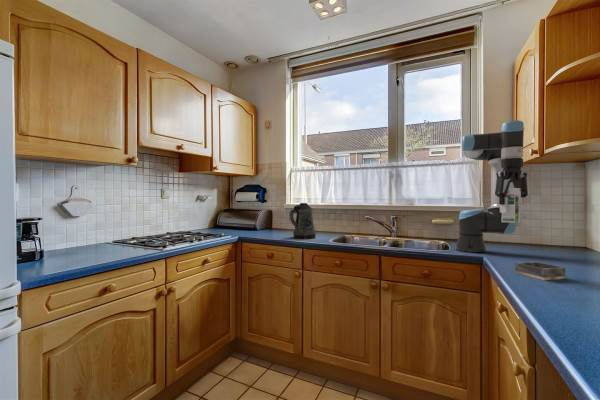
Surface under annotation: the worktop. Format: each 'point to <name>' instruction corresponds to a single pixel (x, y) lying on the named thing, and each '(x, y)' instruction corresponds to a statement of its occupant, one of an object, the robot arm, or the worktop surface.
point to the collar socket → (540, 270)
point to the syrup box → (513, 206)
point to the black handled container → (303, 222)
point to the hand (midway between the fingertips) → (511, 212)
